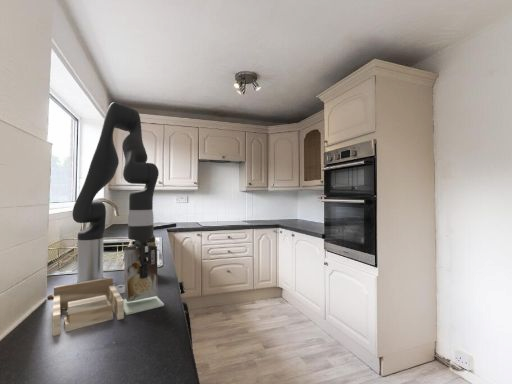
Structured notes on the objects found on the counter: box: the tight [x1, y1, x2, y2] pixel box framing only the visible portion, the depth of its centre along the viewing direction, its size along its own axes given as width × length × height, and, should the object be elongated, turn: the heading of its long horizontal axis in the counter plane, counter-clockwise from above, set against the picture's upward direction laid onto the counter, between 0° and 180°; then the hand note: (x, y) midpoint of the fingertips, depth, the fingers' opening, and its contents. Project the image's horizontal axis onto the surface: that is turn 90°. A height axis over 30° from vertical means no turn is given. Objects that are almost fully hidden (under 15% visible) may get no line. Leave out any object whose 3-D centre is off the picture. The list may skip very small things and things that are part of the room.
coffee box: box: [123, 244, 159, 302], centre depth 86 cm, size 9×6×16 cm
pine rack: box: [52, 276, 125, 337], centre depth 79 cm, size 20×16×7 cm
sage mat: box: [122, 296, 165, 316], centre depth 86 cm, size 12×11×1 cm
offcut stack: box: [63, 295, 114, 333], centre depth 74 cm, size 6×11×6 cm, turn 130°
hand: (140, 275), depth 86 cm, fingers closed on coffee box, 6 cm apart
